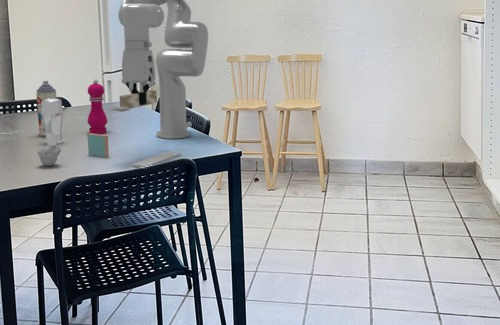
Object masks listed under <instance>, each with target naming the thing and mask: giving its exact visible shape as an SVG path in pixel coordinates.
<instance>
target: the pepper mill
mask: <svg viewBox="0 0 500 325" xmlns="http://www.w3.org/2000/svg"><path fill="white" fill-rule="evenodd" d="M104 93H105V88H104V86H103V85H102V84H101V83H100V84H99V81H98V80H97V79H93V81H92V84H90V85H89V86H88V88H87V94H88V95H89V101H90V106H91V107H90V111H89V114H88V117H87V123H88V124H87V125H89V126H90V127H89V128H88V129H89V130H88V131H89V133H93V134H101V135H104V134H106V133H107V127H106V126H107V124H108V118H107V115H106V112H105V111H104V109H103V101H104Z"/></svg>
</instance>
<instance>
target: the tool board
mask: <svg viewBox="0 0 500 325" xmlns="http://www.w3.org/2000/svg"><path fill="white" fill-rule="evenodd" d="M181 156H182V153H180V152H175V151H165V152H163V153H160V154H156V155H153V156H151V157H148V158H145V159H142V160H140V161H136V162H134V163H132V164H131V165H132V167H133V168H139V169H141V168H140V167H146V166H150V165H154V166H156V165H155V164H157V165H159V164H158V163H160V164H162V163H165V162H167V161H170V160H173V159H175V158H178V157H181Z"/></svg>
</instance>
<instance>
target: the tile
mask: <svg viewBox="0 0 500 325" xmlns="http://www.w3.org/2000/svg"><path fill="white" fill-rule="evenodd" d="M87 151H88V156H91V157H92V156H93V157H100V158H106V159H107V158H109V157H110V156H109V155H110V154H109V135H108V134H93V133H90V132H89V133H87Z"/></svg>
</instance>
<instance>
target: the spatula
mask: <svg viewBox="0 0 500 325" xmlns="http://www.w3.org/2000/svg"><path fill="white" fill-rule="evenodd" d="M157 92H158V90H154V89H153V90H152V89H150V90H149V89H148V91H147V92H146V94H147V101H146V102H147V103H146V104H144V105H139V93H133V94H131V93H129V94H123V95H119V106H112V107H108V111H113V112H126V111H130V110H131V109H135V108H140V107H144V106H148V105H149V106H150V105H153V104H157V103H158V97H157V96H158V94H157Z"/></svg>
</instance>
